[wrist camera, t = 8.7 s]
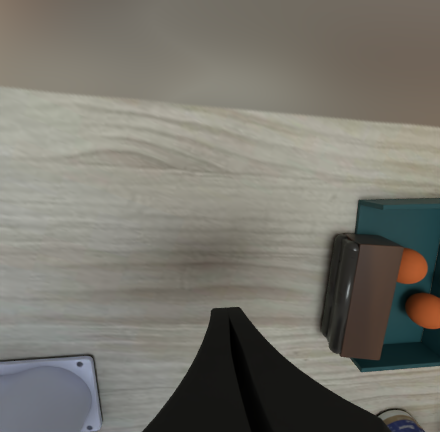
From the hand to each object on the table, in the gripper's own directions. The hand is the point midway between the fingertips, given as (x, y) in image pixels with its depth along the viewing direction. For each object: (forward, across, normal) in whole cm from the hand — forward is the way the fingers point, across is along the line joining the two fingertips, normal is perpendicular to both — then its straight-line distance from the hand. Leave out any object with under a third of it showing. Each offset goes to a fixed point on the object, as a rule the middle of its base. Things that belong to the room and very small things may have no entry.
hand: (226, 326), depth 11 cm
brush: (+8, -10, +3) cm, 13 cm away
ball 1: (+8, -16, +1) cm, 18 cm away
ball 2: (+8, -19, +5) cm, 21 cm away
